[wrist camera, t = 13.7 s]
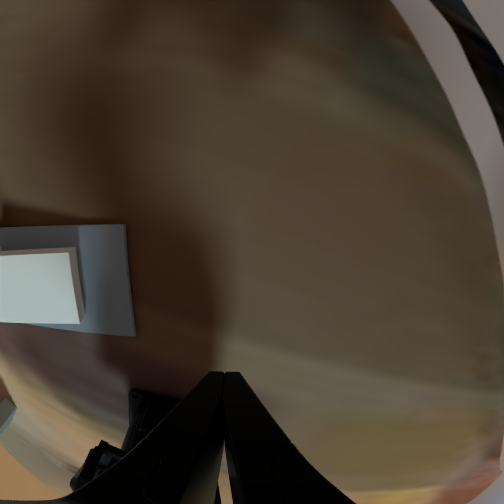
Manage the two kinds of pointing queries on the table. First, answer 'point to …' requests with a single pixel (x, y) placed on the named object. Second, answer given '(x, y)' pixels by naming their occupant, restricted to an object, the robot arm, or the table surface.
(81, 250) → the runner
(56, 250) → the tile
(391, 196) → the table surface
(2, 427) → the lighter
